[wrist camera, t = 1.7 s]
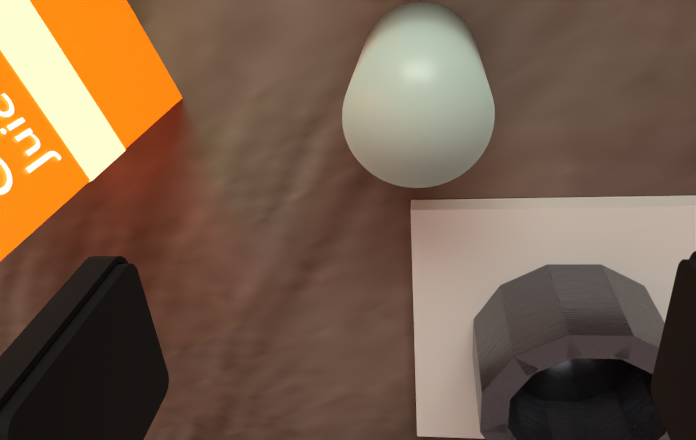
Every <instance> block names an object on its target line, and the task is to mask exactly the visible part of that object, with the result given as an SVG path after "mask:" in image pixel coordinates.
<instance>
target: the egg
mask: <svg viewBox="0 0 696 440" xmlns="http://www.w3.org/2000/svg"><path fill="white" fill-rule="evenodd" d="M494 120H495V108H494V102H493V97H492V94H491V91H490V87H489V84H488V81H487V78H486V74H485V71H484V68H483V65H482V61H481V58H480V55H479V52H478V49H477V45H476V42H475V39H474V36H473V34H472V32H471V30H470V28H469V27H468V25H467V24H466V23H465V21H464V20H463V19H462V18H461V17H460V16H459V15H457V14H456V13H455V12H454V11H452V10H450V9H449V8H447V7H444V6H442V5H439V4H436V3H431V2H412V3H407V4H404V5H401V6H399V7H396V8H394V9H392V10H391V11H389V12H388V13H386V14H385V15H384V16H382V17H381V18H380V19H379V20H378V21H377V22H376V24H375V25H374V26H373V28H372V29H371V31H370V33H369V34H368V37H367V39H366V41H365V44H364V47H363V49H362V52H361V55H360V58H359V60H358V63H357V66H356V68H355V71H354V74H353V76H352V79H351V82H350V84H349V87H348V90H347V92H346V95H345V99H344V103H343V110H342V125H343V131H344V135H345V138H346V141H347V144H348V146H349V148H350V150H351V152H352V153H353V155H354V156H355V158H356V159H357V160H358V161H359V163H360V164H361V165H362V166H363V167H364V168H365V169H366V170H368V171H369V172H370V173H372V174H373V175H374V176H376V177H378V178H380V179H381V180H383V181H386V182H388V183H391V184H394V185H397V186H402V187H408V188H426V187H432V186H437V185H440V184H444V183H447V182H449V181H451V180H453V179H455V178H457V177H458V176H460V175H462V174H463V173H465V172H466V171H467V170H468V169H470V168H471V167H472V166H473V165H474V164H475V163H476V162H477V161H478V159H479V158H480V157H481V155H482V154H483V152H484V151H485V149H486V147H487V145H488V143H489V141H490V138H491V135H492V132H493V128H494Z"/></svg>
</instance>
